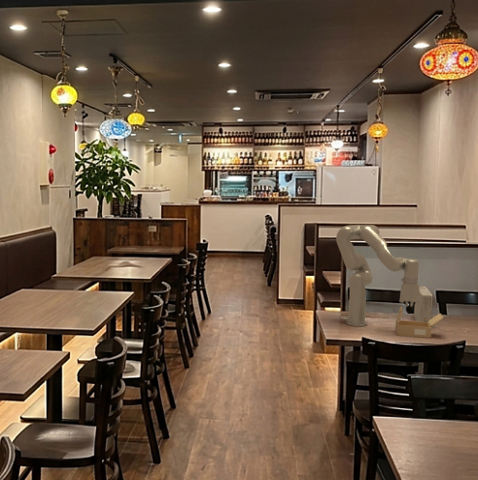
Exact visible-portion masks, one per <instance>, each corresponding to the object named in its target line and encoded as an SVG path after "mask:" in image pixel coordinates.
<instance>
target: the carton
mask: <svg viewBox="0 0 478 480" xmlns="http://www.w3.org/2000/svg"><path fill="white" fill-rule="evenodd" d="M394 327H395V333H396V336H399V337H410V338H411V337H412V338H424V339H431V338H432V327H433V326H430V324H429V322H417V321H416V320H415V321H414V320H404V319H403V320H402V319H400V322H399V323H398V322H397V319H396V320H395V326H394Z"/></svg>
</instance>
